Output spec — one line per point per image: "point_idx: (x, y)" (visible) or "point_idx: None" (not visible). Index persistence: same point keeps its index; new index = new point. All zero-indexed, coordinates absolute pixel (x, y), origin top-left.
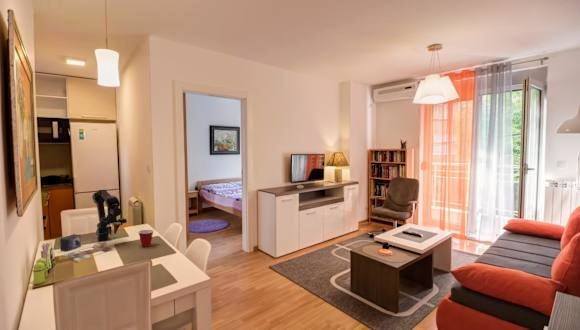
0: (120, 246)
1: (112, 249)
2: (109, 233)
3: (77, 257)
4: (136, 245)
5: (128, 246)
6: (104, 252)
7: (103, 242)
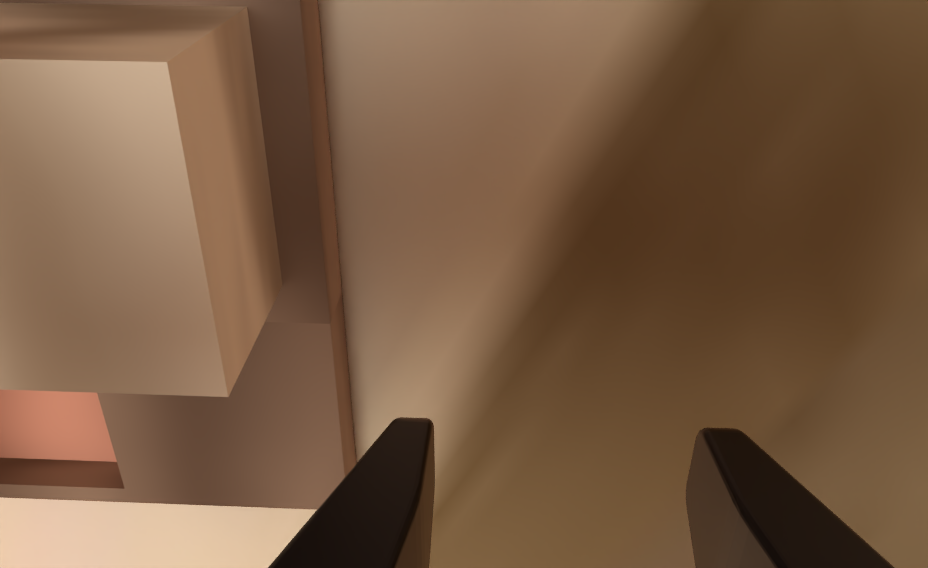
0: (685, 259)
1: (328, 469)
2: (351, 490)
3: None
4: (908, 517)
5: (774, 430)
6: (112, 492)
7: (138, 224)
